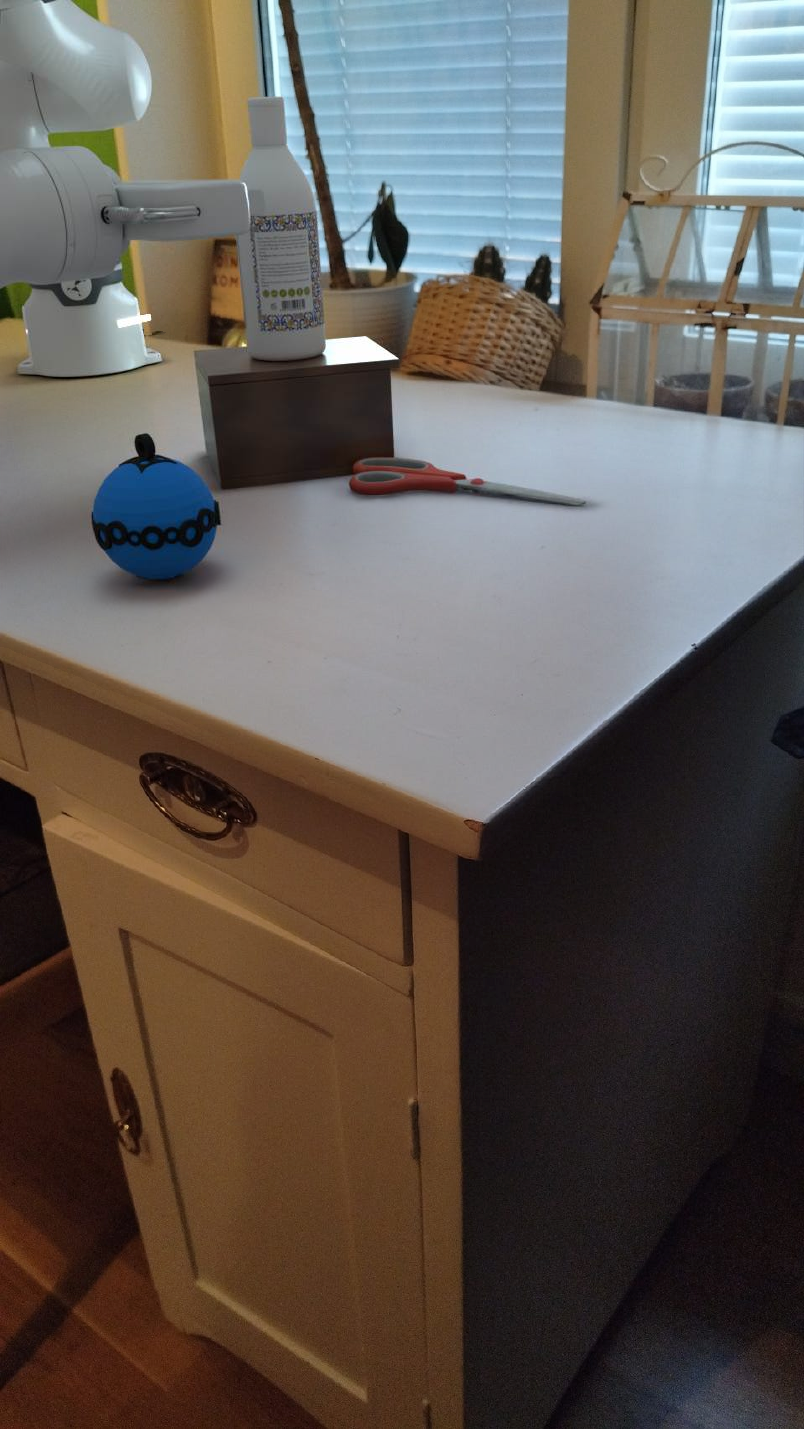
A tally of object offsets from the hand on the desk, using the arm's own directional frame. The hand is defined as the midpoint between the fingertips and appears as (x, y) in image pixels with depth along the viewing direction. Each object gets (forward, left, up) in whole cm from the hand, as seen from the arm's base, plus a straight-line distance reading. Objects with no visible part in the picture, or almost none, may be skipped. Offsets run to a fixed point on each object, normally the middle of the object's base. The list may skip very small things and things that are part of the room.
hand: (221, 201), depth 88 cm
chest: (-3, +5, -22) cm, 23 cm away
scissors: (+11, +17, -23) cm, 30 cm away
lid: (-3, +5, -14) cm, 15 cm away
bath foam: (-3, +5, -13) cm, 14 cm away
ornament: (+23, -9, -23) cm, 34 cm away
